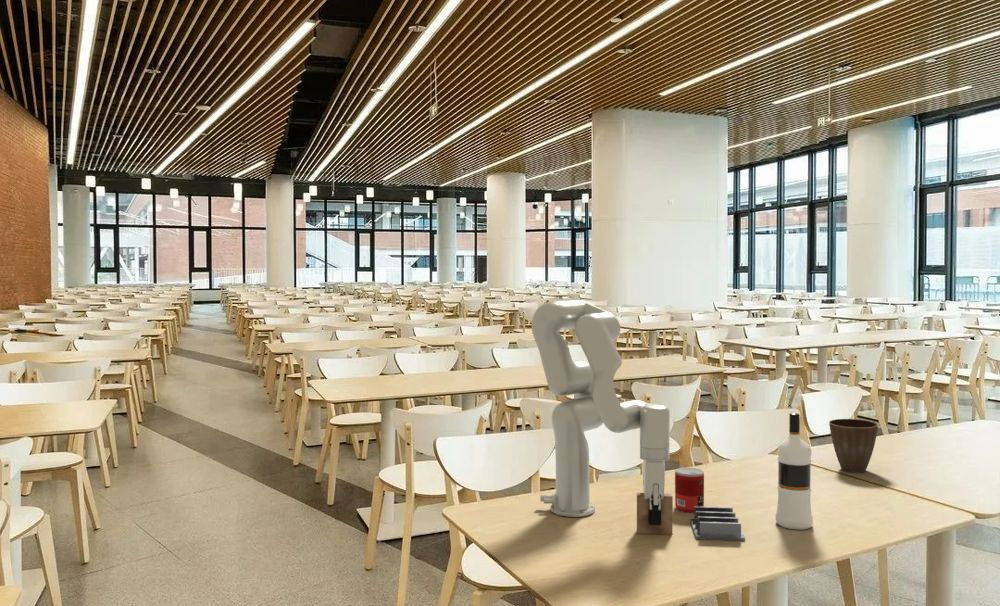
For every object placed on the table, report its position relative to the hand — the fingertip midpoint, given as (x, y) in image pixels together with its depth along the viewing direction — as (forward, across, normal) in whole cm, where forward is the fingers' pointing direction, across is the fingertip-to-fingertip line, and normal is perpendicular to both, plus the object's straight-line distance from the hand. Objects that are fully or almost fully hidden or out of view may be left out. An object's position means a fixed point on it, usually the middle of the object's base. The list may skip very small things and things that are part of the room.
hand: (654, 522), depth 197 cm
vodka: (+3, -10, +37) cm, 39 cm away
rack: (+3, -3, +16) cm, 17 cm away
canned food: (+3, -21, +11) cm, 24 cm away
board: (+3, 0, 0) cm, 3 cm away
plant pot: (+3, -69, +70) cm, 98 cm away
